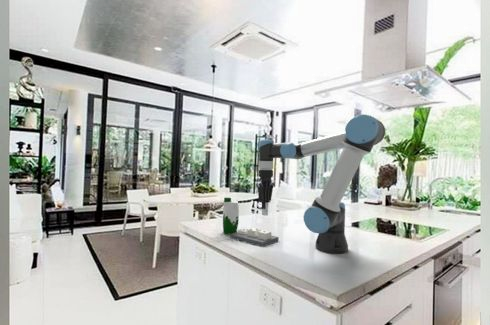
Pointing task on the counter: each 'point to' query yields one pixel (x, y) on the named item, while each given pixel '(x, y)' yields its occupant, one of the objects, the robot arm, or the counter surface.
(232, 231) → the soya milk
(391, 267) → the counter surface
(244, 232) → the key three
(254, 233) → the key two
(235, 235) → the keypad board
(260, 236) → the key one
